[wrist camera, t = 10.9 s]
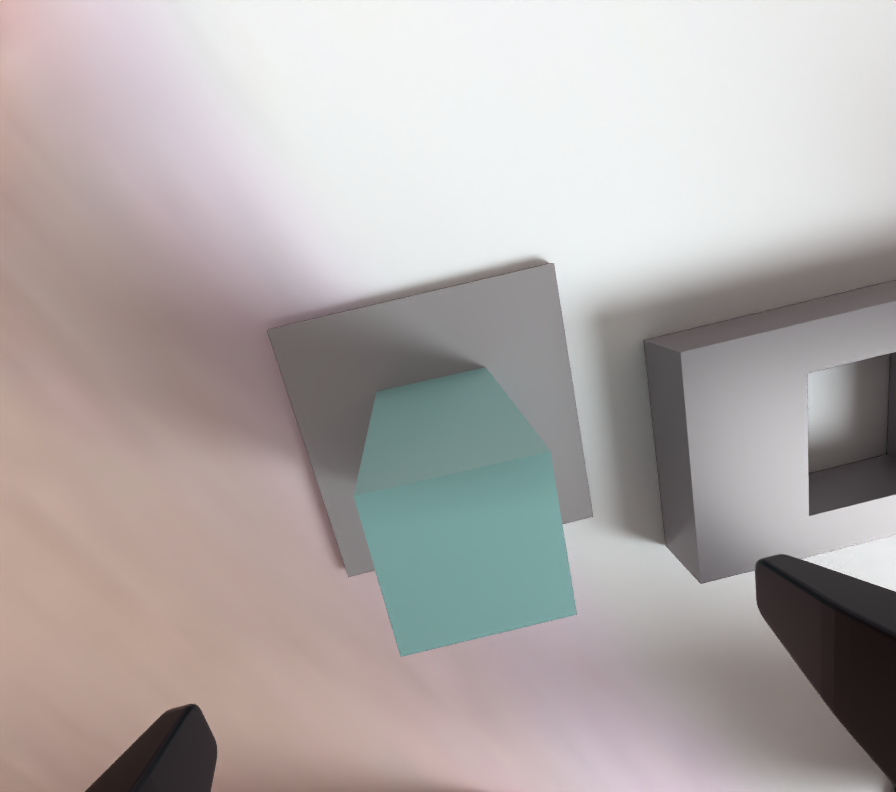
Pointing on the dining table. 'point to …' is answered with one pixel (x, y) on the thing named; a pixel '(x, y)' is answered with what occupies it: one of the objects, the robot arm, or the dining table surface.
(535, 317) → the mat
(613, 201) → the dining table surface
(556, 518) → the plug
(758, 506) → the grey slab with hole
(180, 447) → the dining table surface
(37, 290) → the dining table surface
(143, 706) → the dining table surface
